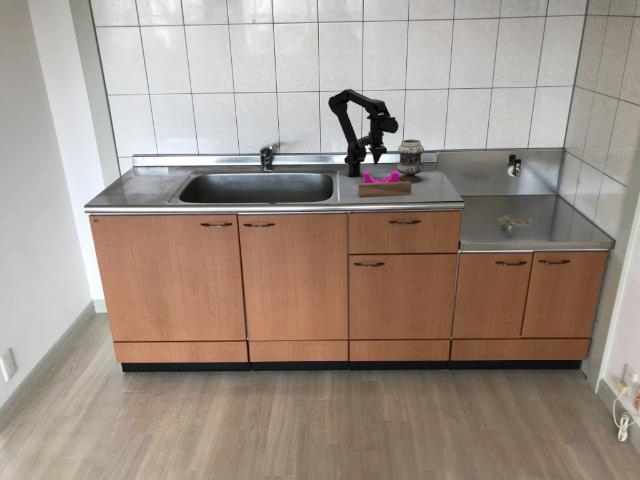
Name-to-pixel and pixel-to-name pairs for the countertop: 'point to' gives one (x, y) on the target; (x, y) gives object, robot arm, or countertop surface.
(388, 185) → the walnut board
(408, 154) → the apothecary jar
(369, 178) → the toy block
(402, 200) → the countertop surface
